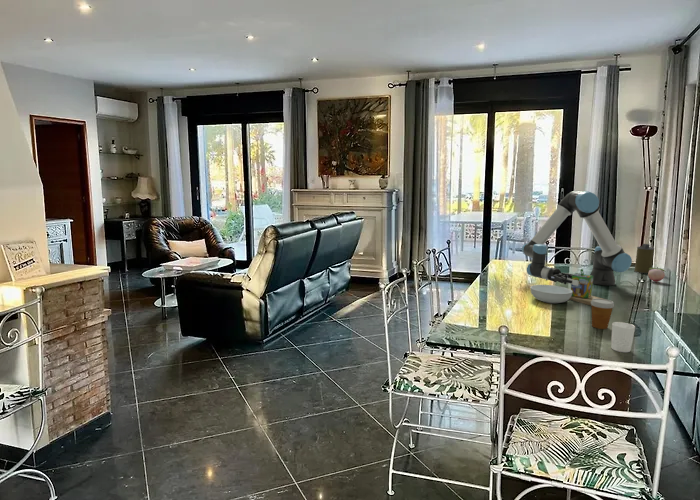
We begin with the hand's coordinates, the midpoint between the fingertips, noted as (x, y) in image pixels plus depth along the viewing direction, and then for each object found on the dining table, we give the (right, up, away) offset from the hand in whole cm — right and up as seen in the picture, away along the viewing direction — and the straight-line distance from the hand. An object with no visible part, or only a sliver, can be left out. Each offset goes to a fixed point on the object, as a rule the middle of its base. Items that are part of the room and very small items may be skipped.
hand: (585, 282), depth 272 cm
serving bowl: (-20, -10, -3) cm, 23 cm away
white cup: (-20, -22, -73) cm, 79 cm away
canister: (+78, +2, +82) cm, 113 cm away
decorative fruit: (+68, -3, +51) cm, 85 cm away
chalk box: (-1, -8, +3) cm, 8 cm away
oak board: (-1, -9, +4) cm, 10 cm away
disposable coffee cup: (-15, -17, -45) cm, 51 cm away
